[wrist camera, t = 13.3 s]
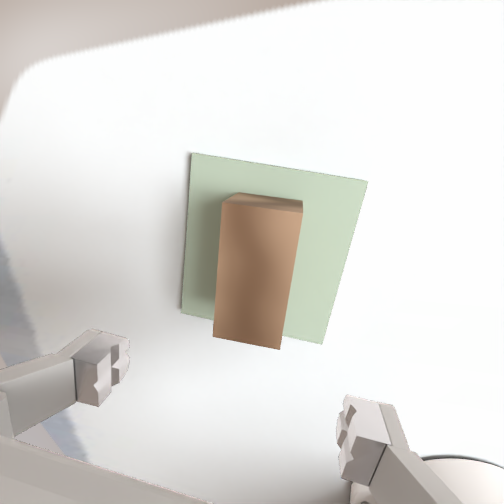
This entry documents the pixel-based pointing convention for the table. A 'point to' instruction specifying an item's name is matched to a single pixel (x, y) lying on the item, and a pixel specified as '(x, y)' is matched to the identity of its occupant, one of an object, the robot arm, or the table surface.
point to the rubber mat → (309, 245)
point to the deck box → (255, 267)
